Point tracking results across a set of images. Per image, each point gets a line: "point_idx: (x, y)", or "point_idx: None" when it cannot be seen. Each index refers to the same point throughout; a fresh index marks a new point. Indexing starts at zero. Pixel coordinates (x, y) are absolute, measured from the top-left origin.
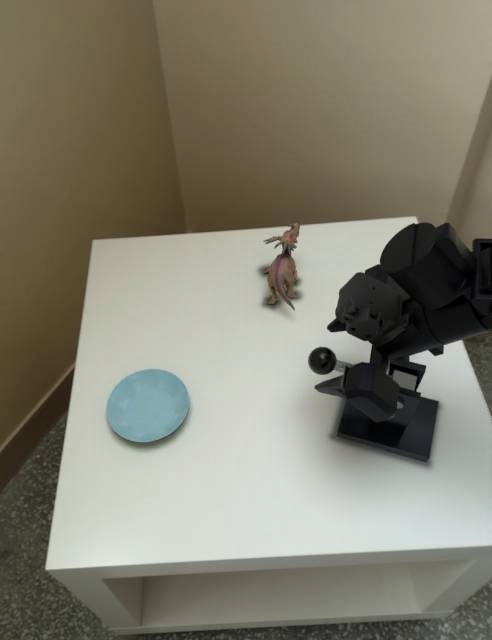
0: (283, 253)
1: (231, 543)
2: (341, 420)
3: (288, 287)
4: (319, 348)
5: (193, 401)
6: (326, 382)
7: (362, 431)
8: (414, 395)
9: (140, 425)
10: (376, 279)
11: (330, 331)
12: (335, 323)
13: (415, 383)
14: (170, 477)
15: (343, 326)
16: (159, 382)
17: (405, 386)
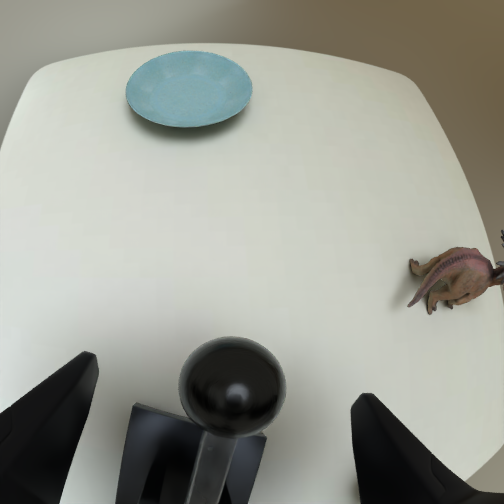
0: (497, 264)
1: None
2: (160, 416)
3: (444, 290)
4: (266, 378)
5: (204, 146)
6: (47, 396)
7: (141, 451)
8: None
9: (163, 89)
10: None
11: (353, 405)
12: (379, 426)
13: None
14: (82, 133)
15: (368, 452)
16: (233, 100)
17: None
